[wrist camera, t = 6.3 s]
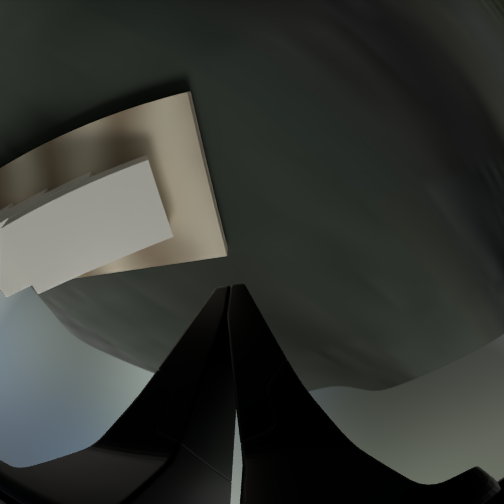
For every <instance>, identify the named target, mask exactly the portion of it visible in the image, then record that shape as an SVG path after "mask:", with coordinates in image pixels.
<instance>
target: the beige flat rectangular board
mask: <svg viewBox="0 0 504 504" xmlns="http://www.w3.org/2000/svg"><path fill="white" fill-rule="evenodd" d="M145 155H146V156H147V158H148V160H149V164H150V167H151V170H152V173H153V177H154V180H155V183H156V186H157V189H158V192H159V195H160V198H161V201H162V204H163V207H164V210H165V213H166V216H167V219H168V222H169V225H170V228H171V231H172V234H173V236H174V237H172V238H169V239H167V240H164V241H162V242H159V243H157V244H154V245H152V246H149V247H147V248H144V249H142V250H139V251H137V252H134V253H132V254H129V255H127V256H125V257H122V258H120V259H117V260H115V261H113V262H110V263H108V264H105V265H103V266H101V267H98V268H96V269H94V270H91V271H89V272H87V273H84V274H82V275H80V276H78V277H75V278H79V277H86V276H93V275H100V274H107V273H114V272H120V271H127V270H134V269H141V268H148V267H155V266H162V265H168V264H175V263H182V262H189V261H196V260H203V259H210V258H216V257H223V256H227V249H228V247H227V243H226V239H225V235H224V231H223V227H222V223H221V219H220V215H219V211H218V207H217V203H216V199H215V195H214V191H213V186H212V182H211V178H210V174H209V170H208V165H207V161H206V157H205V153H204V148H203V144H202V140H201V135H200V131H199V126H198V122H197V118H196V113H195V109H194V104H193V100H192V95H191V91H189V92H185V93H181V94H177V95H173V96H169V97H166V98H162V99H159V100H155V101H152V102H149V103H145V104H142V105H139V106H136V107H133V108H130V109H127V110H124V111H121V112H118V113H115V114H113V115H110V116H107V117H105V118H102V119H99V120H97V121H94V122H92V123H89V124H87V125H84V126H82V127H80V128H77V129H75V130H73V131H71V132H68V133H66V134H64V135H62V136H60V137H57V138H55V139H53V140H51V141H49V142H47V143H45V144H43V145H41V146H39V147H37V148H35V149H33V150H31V151H30V152H28V153H26V154H24V155H22V156H20V157H19V158H17V159H15V160H13V161H12V162H10V163H8V164H6V165H5V166H3V167H1V168H0V210H1V209H3V208H5V207H6V206H8V205H10V204H12V203H13V204H14V206H15V205H17V204H19V203H21V202H22V201H24V200H26V199H28V198H30V197H32V196H34V195H35V194H37V193H39V192H41V191H43V190H45V189H47V188H48V191H51V190H53V189H55V188H57V187H59V186H61V185H63V184H65V183H67V182H69V181H71V180H73V179H75V178H78V177H80V176H82V175H84V174H87V173H89V172H92V175H93V176H94V175H97V174H99V173H101V172H104V171H106V170H109V169H111V168H114V167H116V166H119V165H121V164H124V163H126V162H129V161H131V160H134V159H137V158H139V157H142V156H145Z"/></svg>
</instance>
